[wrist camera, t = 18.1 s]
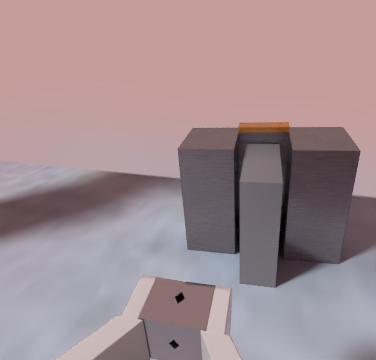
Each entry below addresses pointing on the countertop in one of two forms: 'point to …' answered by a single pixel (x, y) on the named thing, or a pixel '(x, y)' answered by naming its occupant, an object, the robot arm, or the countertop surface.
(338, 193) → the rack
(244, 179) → the grey block
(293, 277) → the countertop surface
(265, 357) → the countertop surface
